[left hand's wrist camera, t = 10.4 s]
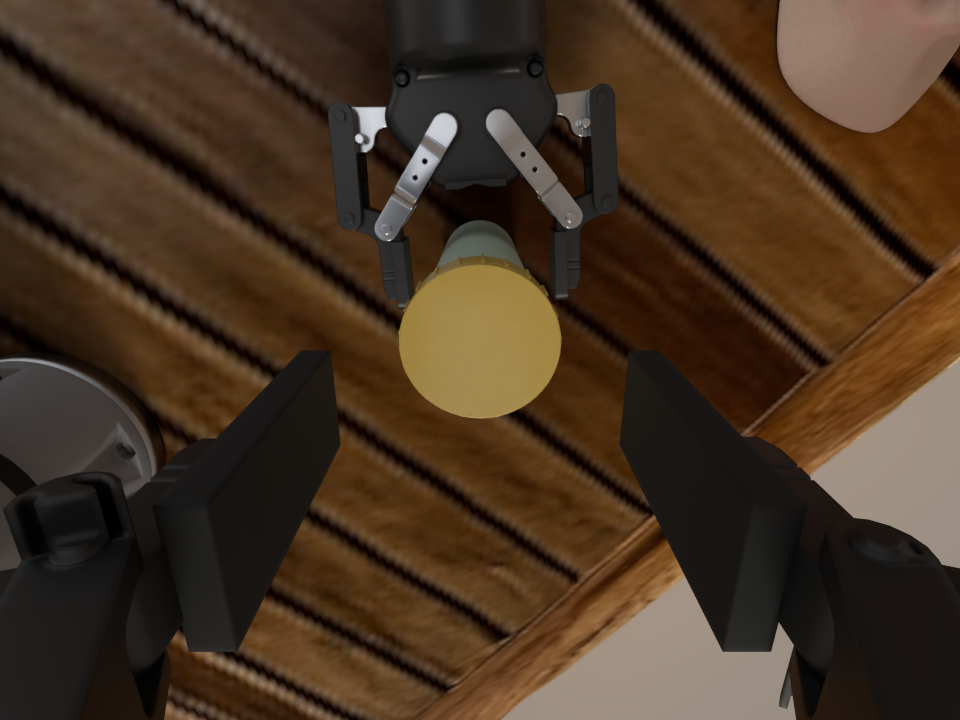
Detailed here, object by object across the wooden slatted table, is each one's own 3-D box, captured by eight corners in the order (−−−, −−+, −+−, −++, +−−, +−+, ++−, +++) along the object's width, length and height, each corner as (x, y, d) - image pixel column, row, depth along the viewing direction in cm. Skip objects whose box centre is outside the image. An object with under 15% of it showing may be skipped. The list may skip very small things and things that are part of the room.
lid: (578, 367, 20) (587, 385, 18) (443, 420, 21) (440, 442, 19) (522, 227, 18) (526, 234, 17) (376, 292, 19) (367, 304, 17)
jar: (526, 275, 36) (568, 374, 19) (462, 302, 36) (446, 422, 19) (498, 208, 34) (517, 250, 17) (432, 238, 35) (387, 307, 18)
